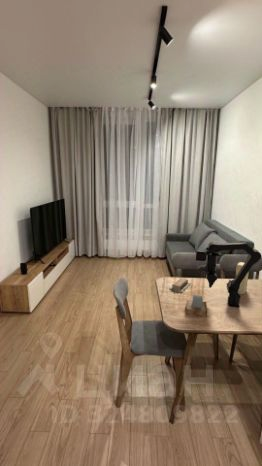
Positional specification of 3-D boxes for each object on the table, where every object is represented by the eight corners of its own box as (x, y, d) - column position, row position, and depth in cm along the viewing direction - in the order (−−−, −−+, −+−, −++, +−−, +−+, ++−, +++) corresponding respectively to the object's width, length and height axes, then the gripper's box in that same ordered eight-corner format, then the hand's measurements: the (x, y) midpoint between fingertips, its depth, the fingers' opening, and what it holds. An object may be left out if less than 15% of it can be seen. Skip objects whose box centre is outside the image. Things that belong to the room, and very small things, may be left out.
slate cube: (201, 303, 156) (202, 295, 155) (201, 308, 151) (202, 299, 150) (192, 302, 157) (192, 294, 156) (192, 307, 152) (193, 298, 151)
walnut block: (205, 307, 159) (206, 301, 159) (207, 317, 148) (207, 311, 147) (186, 305, 162) (186, 299, 161) (186, 315, 150) (186, 309, 150)
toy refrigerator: (236, 288, 188) (239, 261, 184) (246, 291, 184) (250, 263, 179) (232, 291, 182) (235, 264, 178) (243, 294, 177) (246, 266, 173)
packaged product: (182, 287, 178) (169, 283, 183) (181, 293, 179) (169, 289, 184) (191, 279, 192) (179, 276, 198) (191, 285, 193) (178, 281, 199)
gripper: (197, 256, 171) (196, 278, 175) (199, 265, 153) (197, 289, 157) (215, 258, 169) (212, 279, 172) (218, 267, 151) (216, 291, 154)
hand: (209, 284), depth 164 cm, fingers open, 9 cm apart
